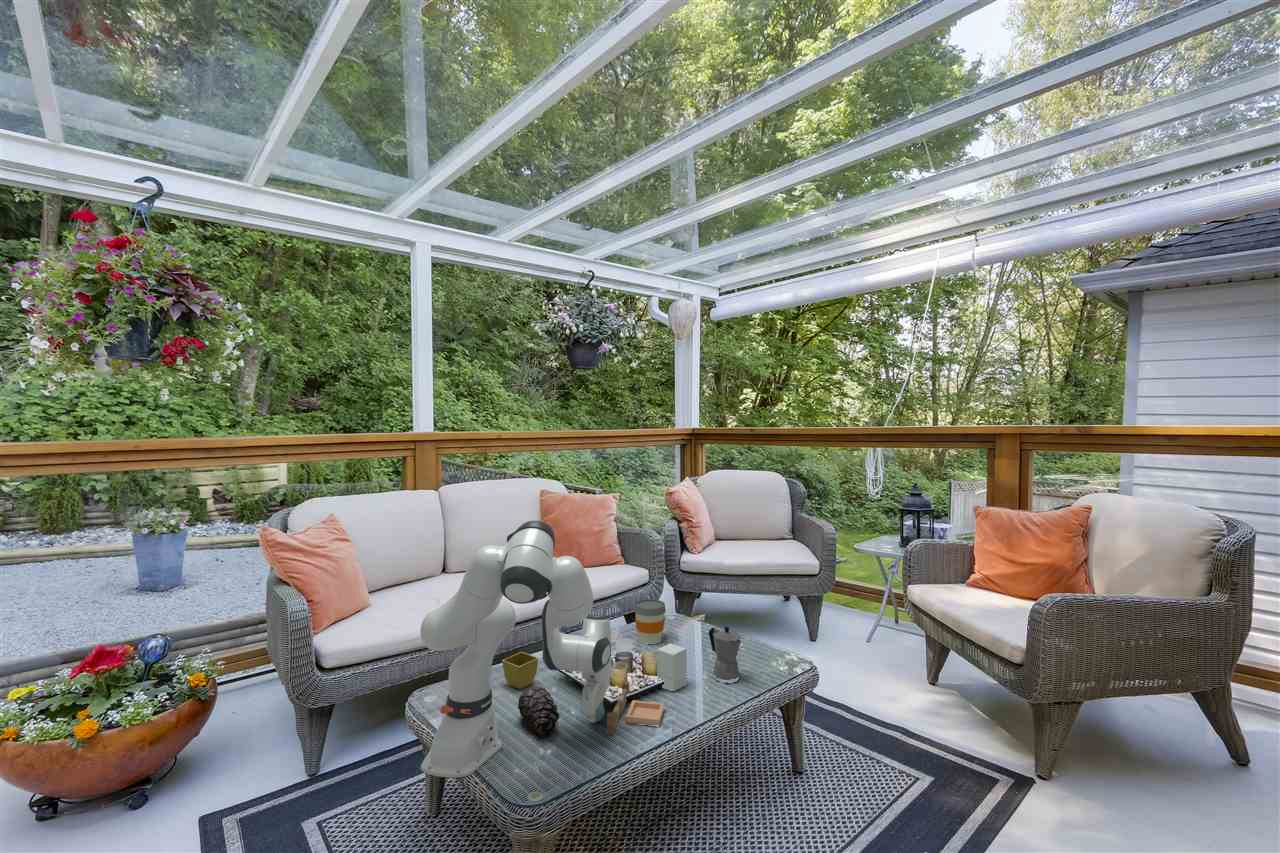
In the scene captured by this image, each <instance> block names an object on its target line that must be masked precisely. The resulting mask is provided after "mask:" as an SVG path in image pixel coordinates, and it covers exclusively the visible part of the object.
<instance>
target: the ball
mask: <svg viewBox="0 0 1280 853" xmlns="http://www.w3.org/2000/svg"><path fill="white" fill-rule="evenodd" d="M596 715H597V717H596V718H597V719H596V721H595V723H596V722H600V721H601V720H602V719H603V718H604V717H605V707H604V705H603V706H602V705H601V704H599V706H598V708H597V710H596Z"/></svg>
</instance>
